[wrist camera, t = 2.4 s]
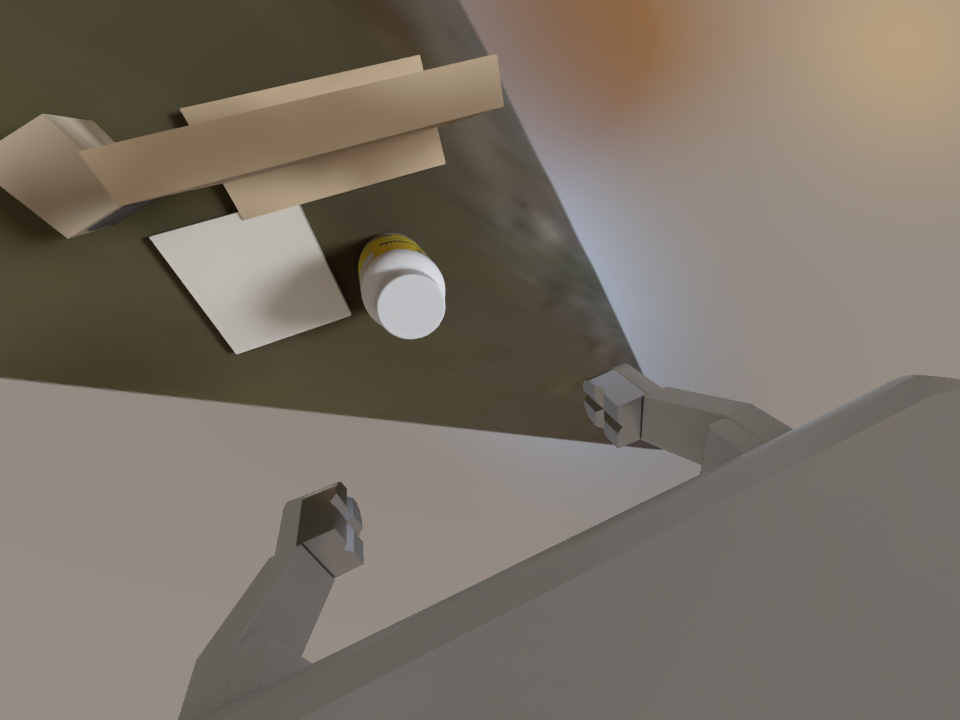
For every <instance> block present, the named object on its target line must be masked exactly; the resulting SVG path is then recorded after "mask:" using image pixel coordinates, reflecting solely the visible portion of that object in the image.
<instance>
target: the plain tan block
mask: <svg viewBox="0 0 960 720" xmlns="http://www.w3.org/2000/svg"><path fill="white" fill-rule="evenodd" d="M112 143H115V142H114V141H113V140H112V139H111V138H110V137H109V136H108V135H107V134H106V133H105V132H104V131H103V130H102V129H101V128H100V127H99V126H98V125H97V124H96V123H95V122H94V121H89V120H83V119H76V118H69V117H62V116H55V115H49V114H41V115H40V116H38V117H37V118H35V119H33V120H32V121H30V122H29V123H27V124H26V125H24V126H23V127H21V128H19V129H18V130H16V131H15V132H13V133H12V134H10V135H8V136H7V137H5V138H4V139H2V140H1V141H0V186H1V187H2V188H3V189H5V190H6V191H7V192H8V193H10V194H11V195H12V196H14V197H15V198H16V199H17V200H19V201H20V202H21V203H23V204H24V205H25V206H26V207H28V208H29V209H30V210H32V211H33V212H34V213H35V214H37V215H38V216H39V217H40V218H42V219H43V220H44V221H46V222H47V223H48V224H49V225H51V226H52V227H53V228H55V229H56V230H57V231H58V232H60V233H61V234H62V235H63V236H65V237H66V238H67V239H69V238H72V237H76V236H79V235H83V234H86V233H89V232H93V231H96V230H100V229H103V228H106V227H109V226H112V225H115V224H117V223H119V222H120V221H122V220H123V219H125V218H126V217H128V216H129V215H131V214H133V213H134V212H136V211H137V210H139V209H140V208H142V207H143V206H145V205H147V204H148V203H150V202H151V201H152V200H146V201H142V202H137V203H132V204H128V205H123V206H118V204H117V203H116V202H115V200H114V199H113V198H112V196H111V195H110V194H109V192H108V191H107V190H106V188H105V187H104V186H103V184H102V183H101V182H100V180H99V179H98V178H97V176H96V175H95V174H94V173H93V171H92V170H91V169H90V167H89V166H88V165H87V163H86V162H85V161H84V159H83V158H82V157H81V155H80V154H79V153H78V151H82V150H86V149H90V148H95V147H99V146H103V145H107V144H112Z"/></svg>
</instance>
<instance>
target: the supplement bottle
mask: <svg viewBox="0 0 960 720" xmlns="http://www.w3.org/2000/svg"><path fill="white" fill-rule="evenodd" d="M358 272H359V280H360V288H361V296H362V300H363V303H364V306H365V308H366V310H367V312H368V313H369V315H370V316H371V317H372V318H373V319H374V320H375V321H376V322H377V323H379V324H380V325H382V326H383V327H384V328H385V329H386V330H387V331H388V332H389V333H391V334H393V335H395V336H397V337H399V338H403V339H417V338H421V337H424V336H426V335H428V334H430V333H431V332H433V331H434V330H435V329H436V328H437V327H438V326H439V324H440V323H441V321H442V319H443V316H444V313H445V283H444V279H443V277H442V274H441V272H440V271H439V269H438V268H437V266H436V265H435V263H434V262H433V261H432V260H431V259H430V258H429V257H428V256H427V254H426V253H425V252H424V251H423V250H422V248H421V247H420V246H419V245H418V244H417V243H416V242H414V241H413V240H412V239H410V238H409V237H407V236H404V235H402V234H398V233H385V234H381V235H378V236H376V237H374V238H373V239H371V240H370V241H369V242H368V243H367V244H366V245H365V246H364V248H363V249H362V251H361V254H360V257H359V262H358Z"/></svg>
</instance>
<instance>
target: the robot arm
mask: <svg viewBox="0 0 960 720" xmlns="http://www.w3.org/2000/svg"><path fill="white" fill-rule="evenodd" d="M583 385H584V391H585V392H586V393H587V394H588V395H587V397H586V399H585V400H584V401H585V408H586V411H587V414H588V416H589V417H590V419H591V420H592V422H593V423H594V424H595V425H596V426H598V427H601V428H605V435H606V437H607V438H608V439H609V440H610V441H611V442H612V443H613V444H614V445H615V446H616V447H617V448H620V447H623V446H625V445H627V444H630V443H632V442H635V441H637V440H639V439H641V440H643V441H645V442H647V443H650V444H652V445H655V446H657V447H659V448H662V449H664V450H667V451H669V452H671V453H674V454H677V455H679V456H681V457H684V458H686V459H689V460H691V461H693V462H696V463H698V464H701V465H702V467H701V471H700V475H698V476H696V477H694V478H692V479H690V480H688V481H686V482H683V483H681V484H679V485H677V486H676V487H673V488H672V489H669V490H667V491H665V492H663V493H661V494H659V495H657V496H655V497H653V498H651V499H649V500H647V501H645V502H643V503H640V504H639V505H637V506H634V507H632V508H630V509H628V510H626V511H624V512H622V513H620V514H618V515H616V516H614V517H612V518H610V519H608V520H606V521H604V522H602V523H600V524H598V525H596V526H593V527H591V528H590V529H587V530H585V531H583V532H581V533H579V534H577V535H575V536H573V537H571V538H569V539H567V540H565V541H563V542H561V543H559V544H557V545H555V546H553V547H551V548H548V549H546V550H544V551H542V552H540V553H538V554H536V555H535V556H532V557H530V558H528V559H526V560H524V561H522V562H520V563H518V564H516V565H514V566H512V567H510V568H508V569H506V570H503V571H501V572H500V573H497V574H495V575H493V576H491V577H489V578H487V579H485V580H483V581H481V582H479V583H477V584H475V585H473V586H471V587H469V588H467V589H465V590H463V591H461V592H459V593H456V594H455V595H452V596H451V597H448V598H447V599H444V600H442V601H440V602H438V603H436V604H434V605H432V606H430V607H428V608H426V609H424V610H422V611H420V612H418V613H415V614H413V615H411V616H409V617H407V618H405V619H403V620H401V621H399V622H397V623H395V624H393V625H391V626H389V627H387V628H385V629H383V630H381V631H379V632H377V633H374V634H373V635H370V636H368V637H366V638H364V639H362V640H360V641H358V642H356V643H354V644H352V645H350V646H348V647H346V648H344V649H342V650H340V651H338V652H336V653H334V654H331V655H329V656H327V657H325V658H323V659H321V660H319V661H318V662H315V663H313V664H312V663H311V662H309V661H307V660H306V659H305V658H303V657H302V654H303V652H304V649H305V647H306V644H307V642H308V640H309V638H310V635H311V633H312V631H313V629H314V626H315V624H316V622H317V620H318V617H319V615H320V613H321V610H322V608H323V606H324V604H325V601H326V599H327V597H328V594H329V592H330V590H331V587H332V585H333V583H334V581H335V580H334V578H336V577H338V576H340V575H342V574H344V573H346V572H348V571H350V570H352V569H354V568H356V567H358V566H360V565H362V564H364V557H363V542H362V540H361V539H360V538H359V534H360V532H361V530H362V518H361V514H360V510H359V508H358V506H357V503H356V502H355V500H354V499H353V498H351V497H348V496H347V489H346V487H345V486H344V485H343V484H342V482H337V483H335V484H332V485H329V486H327V487H324V488H322V489H319V490H317V491H314V492H311V493H309V494H306V495H305V496H302V497H299V498H297V499H294V500H291V501H289V502H287V503H286V505H285V506H284V509H283V515H282V520H281V525H280V531H279V536H278V541H277V547H276V552H275V556H273V557H271V558H269V559H268V561H267V562H266V563H265V565H264V566H263V568H262V569H261V570H260V572H259V573H258V575H257V576H256V578H255V579H254V580H253V582H252V583H251V584H250V586H249V587H248V589H247V590H246V591H245V593H244V594H243V596H242V597H241V599H240V600H239V602H238V603H237V604H236V605H235V607H234V608H233V610H232V611H231V612H230V614H229V615H228V617H227V618H226V619H225V621H224V622H223V624H222V625H221V627H220V628H219V629H218V631H217V632H216V633H215V635H214V636H213V638H212V639H211V641H210V642H209V643H208V645H207V646H206V647H205V649H204V650H203V652H202V653H201V655H200V656H199V657H198V659H197V660H196V663H195V667H194V670H193V673H192V677H191V679H190V683H189V686H188V689H187V693H186V696H185V699H184V702H183V706H182V709H181V712H180V716H179V719H178V720H960V379H954V378H946V377H938V376H926V375H908V376H904V377H900V378H898V379H895V380H893V381H890V382H888V383H886V384H884V385H882V386H880V387H878V388H876V389H874V390H872V391H870V392H868V393H866V394H864V395H861V396H860V397H857V398H855V399H854V400H851V401H849V402H847V403H845V404H843V405H841V406H839V407H837V408H835V409H833V410H831V411H829V412H827V413H825V414H823V415H821V416H819V417H817V418H815V419H813V420H811V421H808V422H806V423H804V424H802V425H800V426H798V427H796V428H794V429H792V428H790V427H789V426H787V425H785V424H784V423H782V422H780V421H779V420H777V419H775V418H774V417H772V416H770V415H769V414H767V413H765V412H764V411H762V410H760V409H758V408H757V407H755V406H754V405H752V404H748V403H744V402H739V401H734V400H729V399H724V398H719V397H714V396H709V395H704V394H699V393H695V392H690V391H685V390H680V389H675V388H670V387H664V388H661V387H660V386H658V385H657V384H655V383H654V382H653V381H651V380H650V379H648V378H647V377H645V376H644V375H643V374H641V373H640V372H638V371H637V370H636V369H634V368H633V367H631V366H630V365H628V364H622V365H620V366H618V367H615V368H613V369H611V370H608V371H606V372H604V373H601V374H599V375H597V376H594V377H592V378H590V379H587V380H585V381H584V384H583Z"/></svg>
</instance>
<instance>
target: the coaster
mask: <svg viewBox="0 0 960 720" xmlns="http://www.w3.org/2000/svg"><path fill="white" fill-rule="evenodd" d="M149 238H150V239H151V241H152V242H153V243H154V245H155V246H156V247H157V249H158V250H159V251H160V253H161V254H162V255H163V257H164V258H165V259H166V261H167V262H168V263H169V265H170V266H171V267H172V269H173V270H174V272H175V273H176V274H177V276H178V277H179V278H180V280H181V281H182V282H183V284H184V285H185V286H186V288H187V289H188V290H189V292H190V293H191V294H192V296H193V297H194V298H195V300H196V301H197V302H198V304H199V305H200V306H201V308H202V309H203V310H204V312H205V313H206V314H207V316H208V317H209V318H210V320H211V321H212V322H213V324H214V325H215V326H216V328H217V329H218V331H219V332H220V333H221V335H222V336H223V337H224V339H225V340H226V341H227V343H228V344H229V345H230V347H231V348H232V349H233V351H234V352H235V353H236V354H239V353H242V352H245V351H248V350H251V349H254V348H257V347H260V346H263V345H266V344H269V343H272V342H275V341H278V340H281V339H284V338H287V337H289V336H292V335H295V334H298V333H301V332H304V331H307V330H310V329H313V328H316V327H319V326H322V325H325V324H328V323H331V322H334V321H337V320H340V319H343V318H346V317H349V316H351V310H350V308H349V306H348V304H347V302H346V300H345V298H344V296H343V294H342V292H341V289H340V287H339V285H338V283H337V281H336V279H335V277H334V275H333V273H332V271H331V268H330V266H329V264H328V262H327V260H326V258H325V256H324V254H323V252H322V250H321V247H320V245H319V243H318V241H317V239H316V237H315V235H314V233H313V231H312V229H311V227H310V224H309V222H308V220H307V218H306V216H305V214H304V212H303V210H302V208H301V206H300V205H297V206H293V207H289V208H286V209H282V210H279V211H275V212H272V213H268V214H265V215H261V216H257V217H254V218H250V219H247V220H243V218H242V216H241V214H240V213H239V212H235V213H231V214H228V215H224V216H221V217H217V218H213V219H210V220H206V221H202V222H199V223H195V224H192V225H188V226H184V227H181V228H177V229H173V230H170V231H166V232H163V233H159V234H155V235H153V236H150V237H149Z"/></svg>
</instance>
